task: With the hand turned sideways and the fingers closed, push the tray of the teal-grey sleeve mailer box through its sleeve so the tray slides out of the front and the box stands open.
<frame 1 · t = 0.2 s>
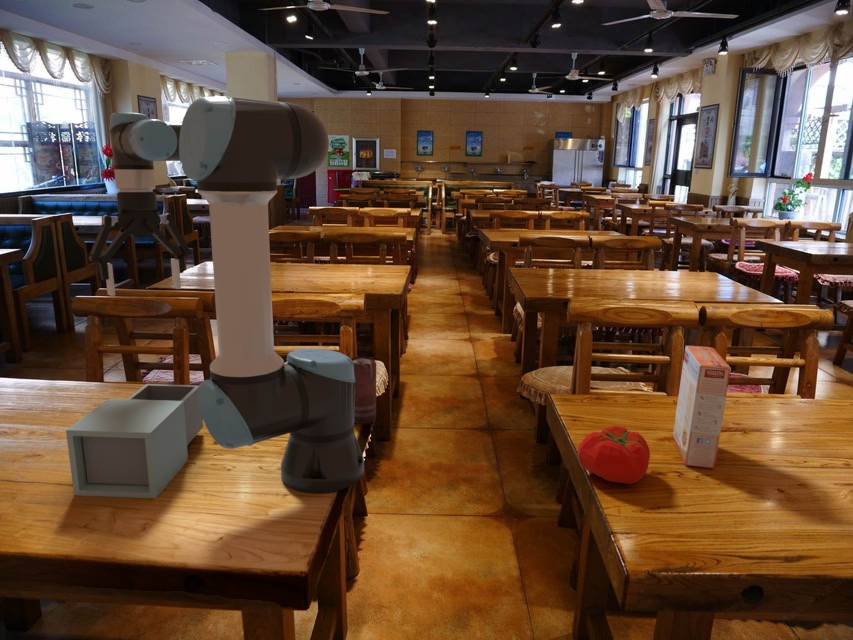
hand: (145, 291, 137), 27 cm above the table, tool pointing down, fingers open, 13 cm apart
cracker box: (692, 453, 130), on the table
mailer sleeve: (134, 476, 114), on the table
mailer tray: (149, 430, 119), point 6 cm above the table, slide at 0.0 cm
tomato: (614, 478, 119), on the table
can: (362, 420, 141), on the table
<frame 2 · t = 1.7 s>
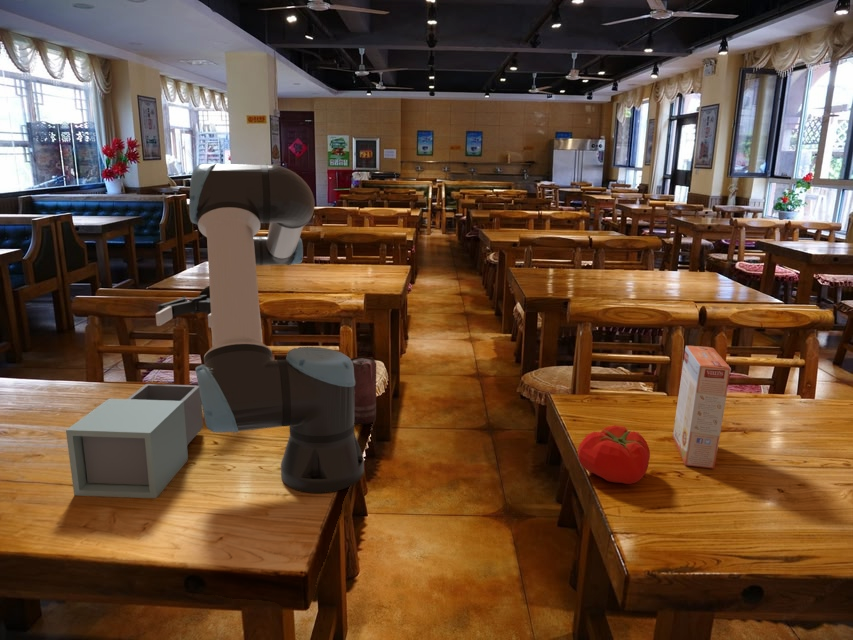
hand: (183, 320, 135), 22 cm above the table, tool horizontal, fingers open, 10 cm apart
nothing on the table moved.
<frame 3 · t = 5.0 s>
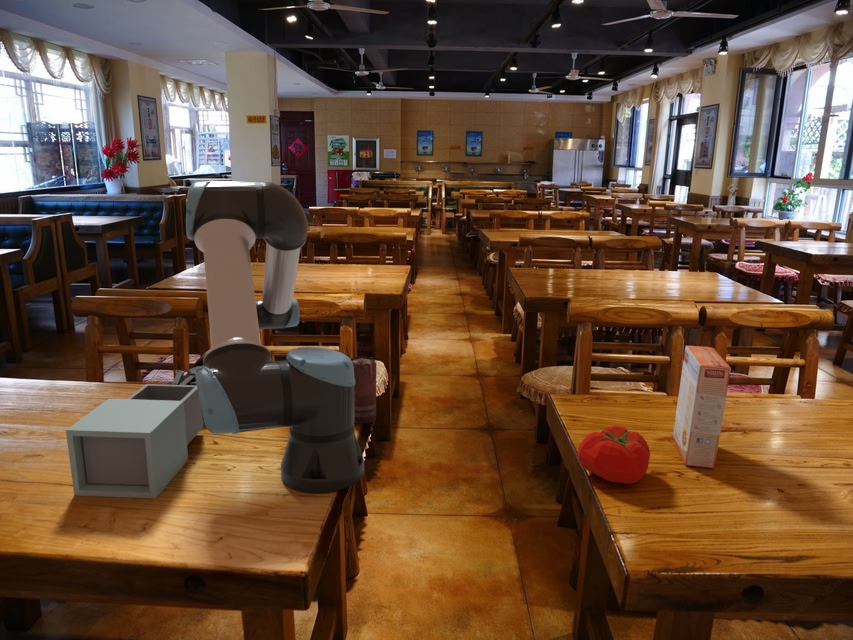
hand: (174, 403, 131), 6 cm above the table, tool horizontal, fingers closed
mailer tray: (148, 430, 119), point 6 cm above the table, slide at 0.1 cm, touching gripper
everything else where it was.
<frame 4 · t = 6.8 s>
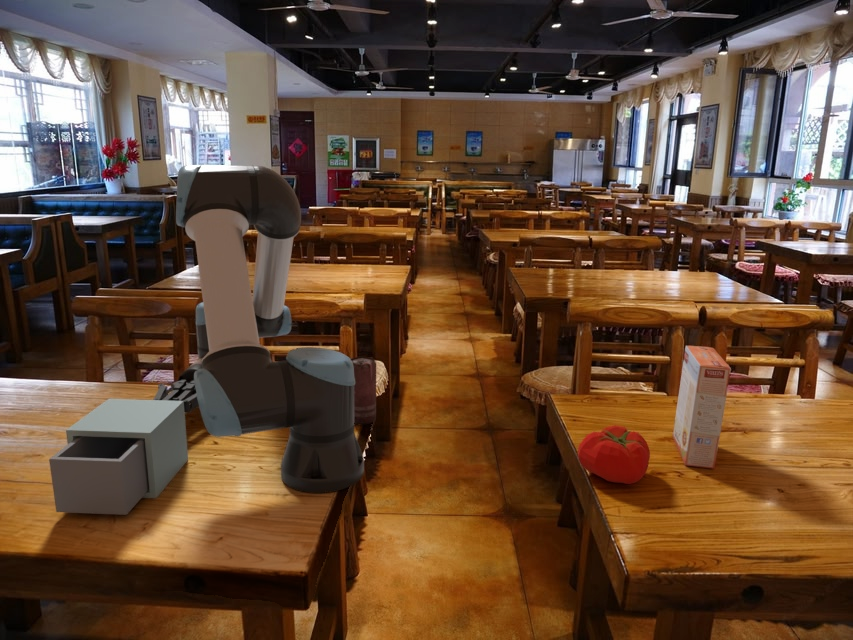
hand: (155, 421, 122), 6 cm above the table, tool horizontal, fingers closed
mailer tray: (125, 452, 110), point 6 cm above the table, slide at 9.3 cm, touching gripper
everything else where it was.
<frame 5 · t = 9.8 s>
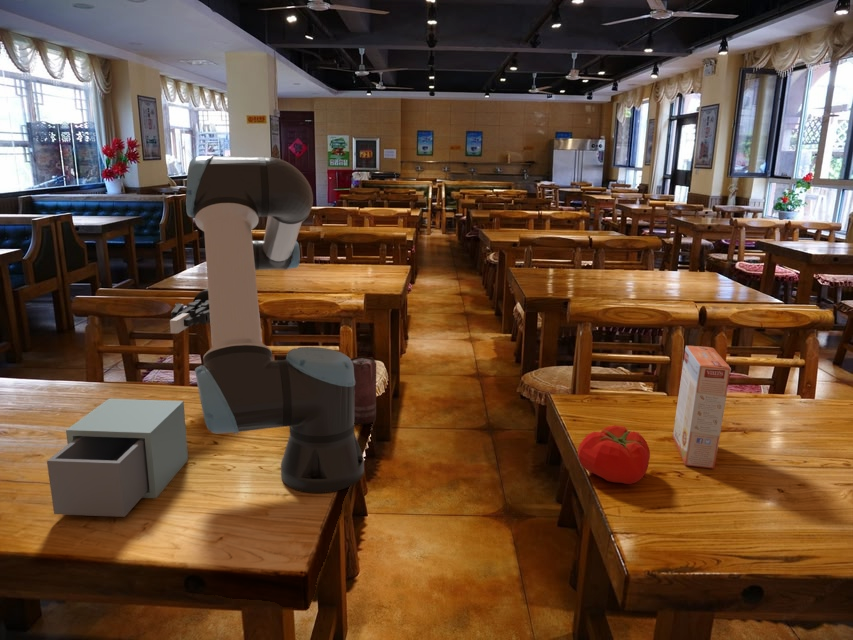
hand: (173, 326, 130), 22 cm above the table, tool horizontal, fingers closed
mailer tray: (123, 453, 110), point 6 cm above the table, slide at 9.8 cm
everything else where it was.
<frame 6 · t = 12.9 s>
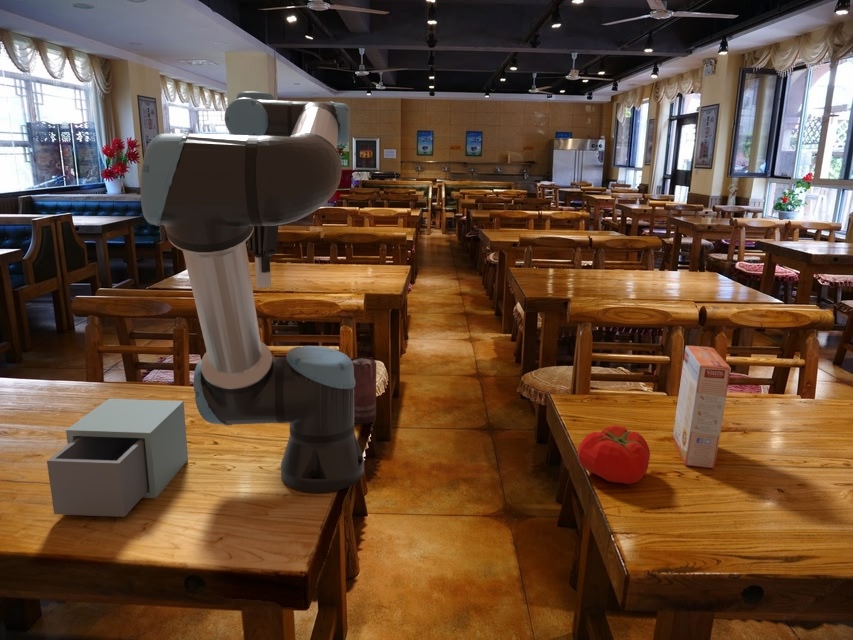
hand: (263, 286, 135), 29 cm above the table, tool pointing down, fingers closed
nothing on the table moved.
at the end: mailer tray slide at 9.8 cm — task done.
